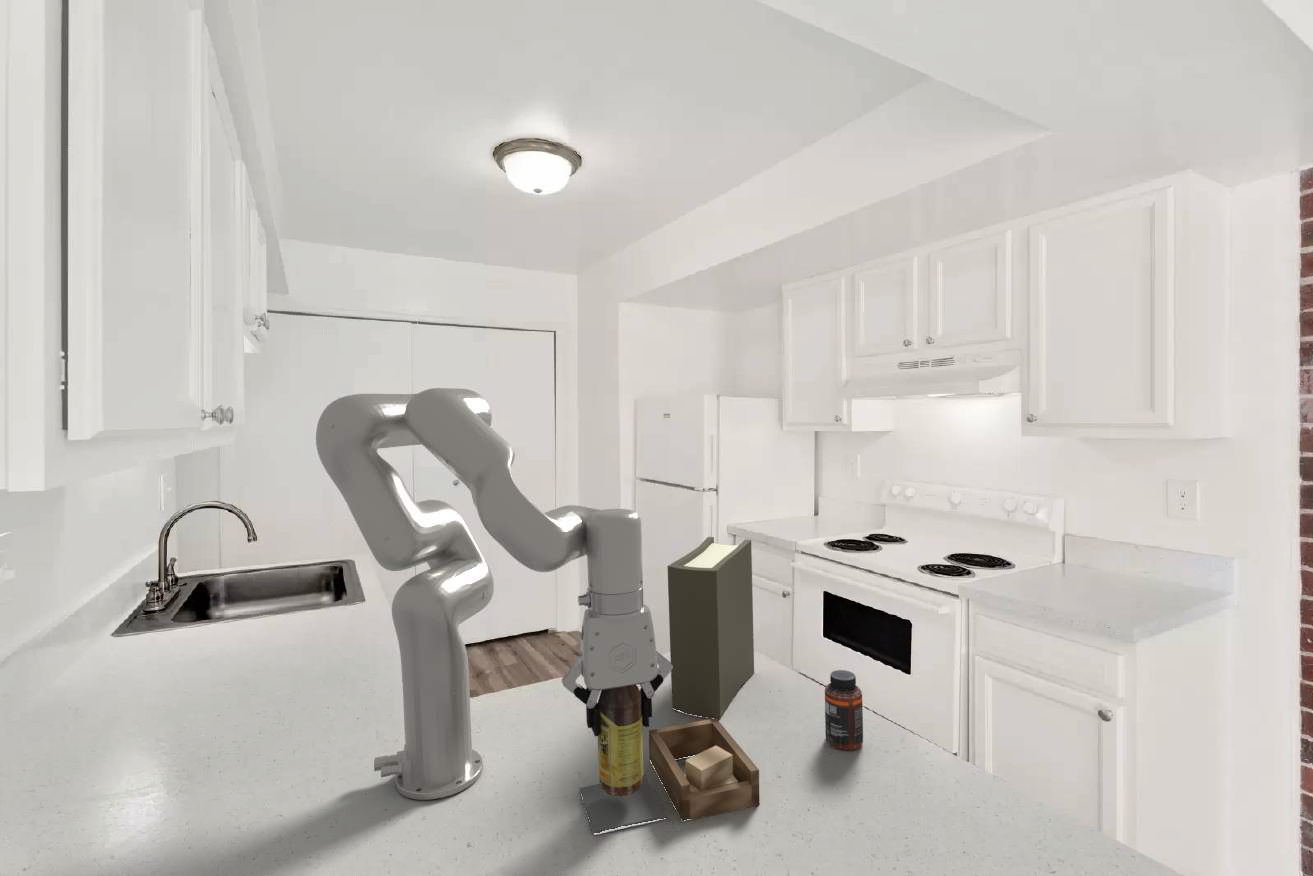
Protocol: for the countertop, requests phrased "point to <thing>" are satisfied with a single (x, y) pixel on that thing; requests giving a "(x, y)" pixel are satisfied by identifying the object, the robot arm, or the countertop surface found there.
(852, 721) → the supplement bottle
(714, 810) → the tray
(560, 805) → the countertop surface
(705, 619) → the book
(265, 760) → the countertop surface
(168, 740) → the countertop surface
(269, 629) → the countertop surface
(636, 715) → the sauce bottle
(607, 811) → the mat
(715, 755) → the offcut top
